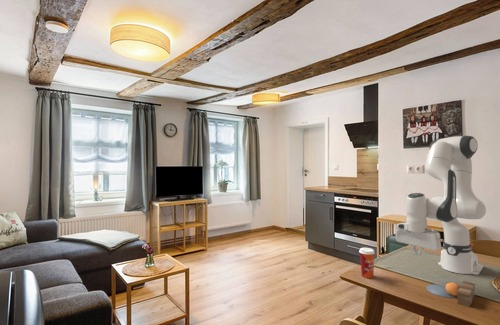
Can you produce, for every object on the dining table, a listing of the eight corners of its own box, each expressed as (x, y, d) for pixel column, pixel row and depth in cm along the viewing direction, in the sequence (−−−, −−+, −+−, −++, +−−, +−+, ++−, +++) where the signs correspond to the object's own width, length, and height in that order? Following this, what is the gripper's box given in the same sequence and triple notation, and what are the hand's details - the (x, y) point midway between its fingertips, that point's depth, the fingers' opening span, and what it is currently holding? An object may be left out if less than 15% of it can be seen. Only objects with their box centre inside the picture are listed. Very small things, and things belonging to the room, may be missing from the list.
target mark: (435, 282, 139) (435, 282, 139) (466, 292, 127) (466, 292, 127) (420, 289, 132) (420, 289, 132) (452, 300, 121) (452, 300, 121)
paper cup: (368, 280, 143) (367, 252, 143) (356, 275, 150) (355, 248, 150) (379, 277, 147) (378, 250, 147) (366, 272, 154) (366, 246, 154)
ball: (448, 290, 129) (447, 278, 129) (463, 294, 125) (462, 282, 125) (443, 295, 126) (443, 283, 126) (458, 299, 122) (457, 287, 121)
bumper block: (463, 292, 128) (463, 281, 128) (474, 294, 125) (474, 283, 125) (457, 303, 118) (457, 291, 118) (469, 307, 115) (469, 294, 115)
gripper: (443, 229, 132) (444, 259, 132) (400, 222, 149) (401, 248, 149) (436, 231, 128) (437, 262, 128) (393, 224, 146) (394, 250, 146)
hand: (417, 254), depth 139 cm, fingers closed
